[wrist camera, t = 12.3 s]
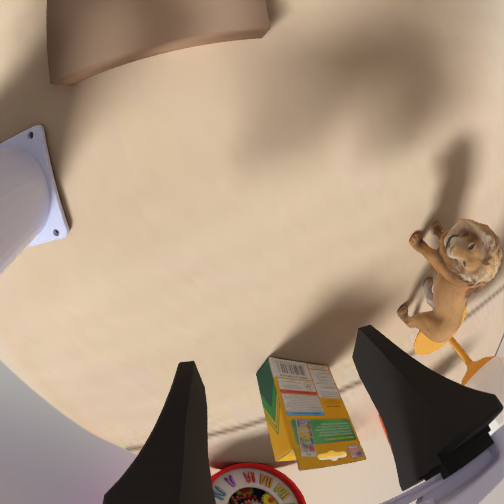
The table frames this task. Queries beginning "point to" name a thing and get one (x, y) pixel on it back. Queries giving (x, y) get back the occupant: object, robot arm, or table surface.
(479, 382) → the cup
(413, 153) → the table surface
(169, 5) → the walnut block
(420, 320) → the tan animal figurine
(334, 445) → the crayon box
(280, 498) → the toy clock
